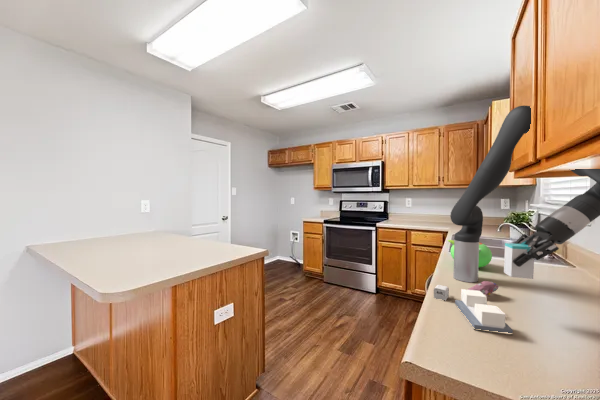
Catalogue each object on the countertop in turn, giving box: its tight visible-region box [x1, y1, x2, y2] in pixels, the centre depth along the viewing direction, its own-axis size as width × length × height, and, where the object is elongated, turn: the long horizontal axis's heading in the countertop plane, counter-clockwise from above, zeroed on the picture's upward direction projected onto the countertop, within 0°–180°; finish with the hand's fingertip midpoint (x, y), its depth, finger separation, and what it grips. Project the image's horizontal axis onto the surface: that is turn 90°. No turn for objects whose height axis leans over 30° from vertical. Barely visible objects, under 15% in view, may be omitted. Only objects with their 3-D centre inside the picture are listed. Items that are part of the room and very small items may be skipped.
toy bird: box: [447, 239, 493, 268], centre depth 131 cm, size 18×17×15 cm
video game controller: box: [467, 280, 499, 297], centre depth 94 cm, size 10×5×7 cm, turn 106°
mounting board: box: [454, 288, 514, 333], centre depth 77 cm, size 17×9×6 cm, turn 164°
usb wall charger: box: [433, 284, 450, 302], centre depth 93 cm, size 4×7×4 cm, turn 139°
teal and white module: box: [503, 242, 535, 280], centre depth 77 cm, size 4×6×10 cm
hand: (511, 261), depth 78 cm, fingers closed on teal and white module, 4 cm apart
